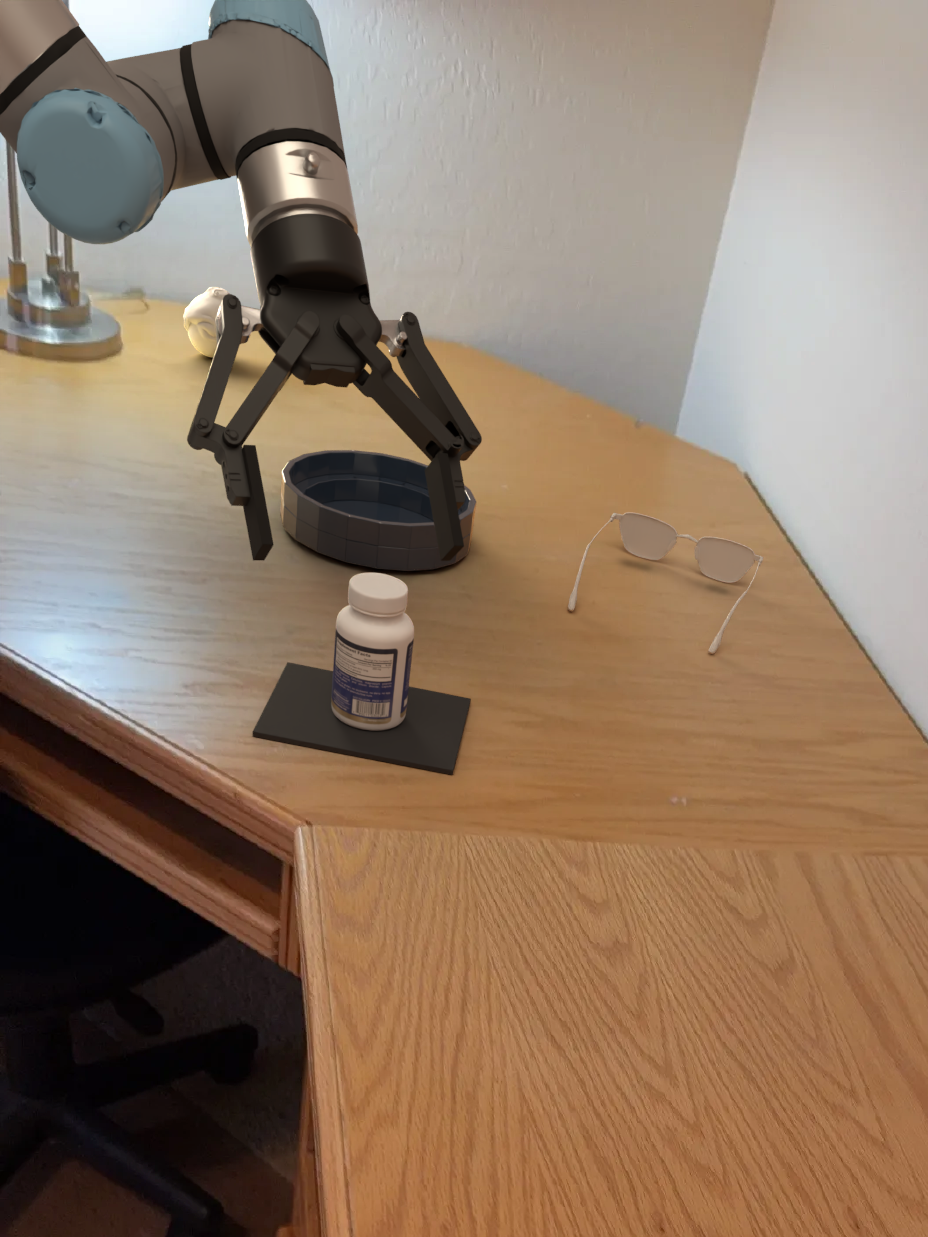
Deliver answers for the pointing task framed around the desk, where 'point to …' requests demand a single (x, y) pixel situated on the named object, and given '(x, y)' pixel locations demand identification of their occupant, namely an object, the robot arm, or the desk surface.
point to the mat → (310, 722)
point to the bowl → (366, 509)
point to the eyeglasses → (660, 538)
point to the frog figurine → (204, 320)
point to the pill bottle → (372, 654)
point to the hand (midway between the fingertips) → (361, 553)
